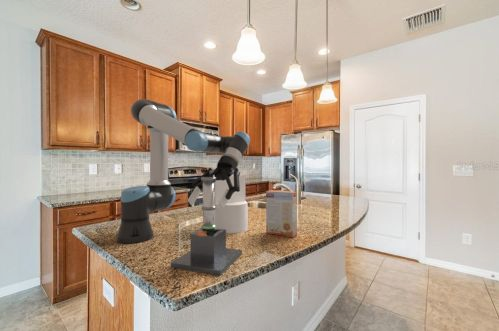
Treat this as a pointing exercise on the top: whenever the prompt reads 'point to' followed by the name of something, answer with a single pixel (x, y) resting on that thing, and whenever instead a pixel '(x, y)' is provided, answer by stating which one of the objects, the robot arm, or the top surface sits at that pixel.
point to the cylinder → (231, 207)
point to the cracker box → (281, 213)
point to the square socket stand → (208, 253)
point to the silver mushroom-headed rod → (208, 205)
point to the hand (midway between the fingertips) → (204, 204)
